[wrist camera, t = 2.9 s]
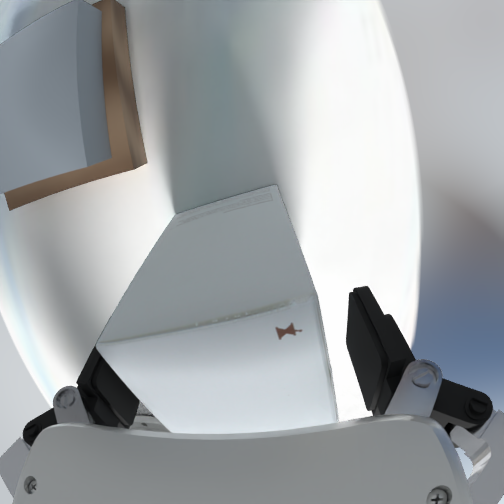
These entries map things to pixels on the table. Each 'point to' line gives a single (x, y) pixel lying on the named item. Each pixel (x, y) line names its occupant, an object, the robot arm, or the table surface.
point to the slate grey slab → (52, 97)
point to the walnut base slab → (117, 114)
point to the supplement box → (225, 324)
